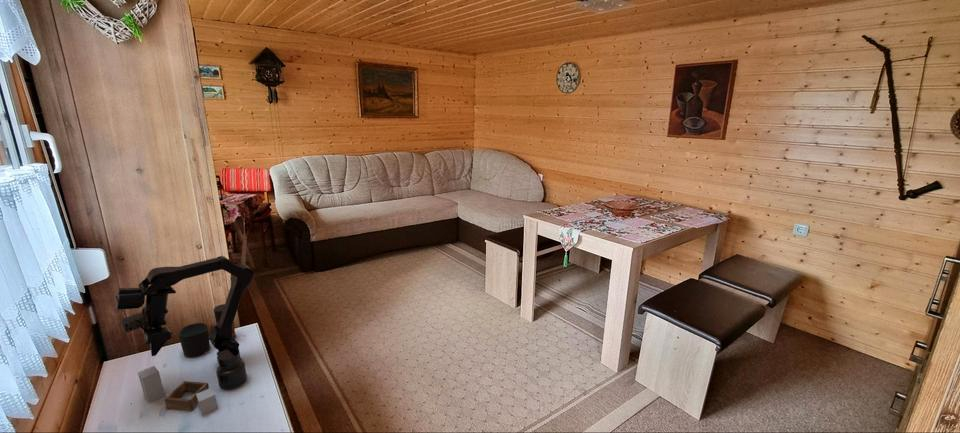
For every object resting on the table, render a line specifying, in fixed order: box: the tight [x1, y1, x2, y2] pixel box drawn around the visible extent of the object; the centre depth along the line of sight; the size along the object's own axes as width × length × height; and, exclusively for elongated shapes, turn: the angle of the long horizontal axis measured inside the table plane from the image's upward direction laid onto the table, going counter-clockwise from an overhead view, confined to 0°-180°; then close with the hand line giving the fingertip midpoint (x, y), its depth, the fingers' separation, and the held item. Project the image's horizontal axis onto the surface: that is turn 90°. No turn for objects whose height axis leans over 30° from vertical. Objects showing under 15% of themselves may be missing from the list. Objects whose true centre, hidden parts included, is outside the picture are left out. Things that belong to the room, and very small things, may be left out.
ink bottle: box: [215, 348, 248, 391], centre depth 144 cm, size 10×9×12 cm
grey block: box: [196, 387, 219, 416], centre depth 134 cm, size 4×4×6 cm
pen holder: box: [178, 322, 211, 358], centre depth 161 cm, size 9×9×10 cm
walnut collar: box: [163, 380, 210, 412], centre depth 137 cm, size 9×9×4 cm
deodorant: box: [213, 303, 237, 339], centre depth 168 cm, size 6×6×15 cm
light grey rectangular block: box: [137, 365, 166, 404], centre depth 137 cm, size 4×4×10 cm
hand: (150, 349), depth 137 cm, fingers open, 9 cm apart
